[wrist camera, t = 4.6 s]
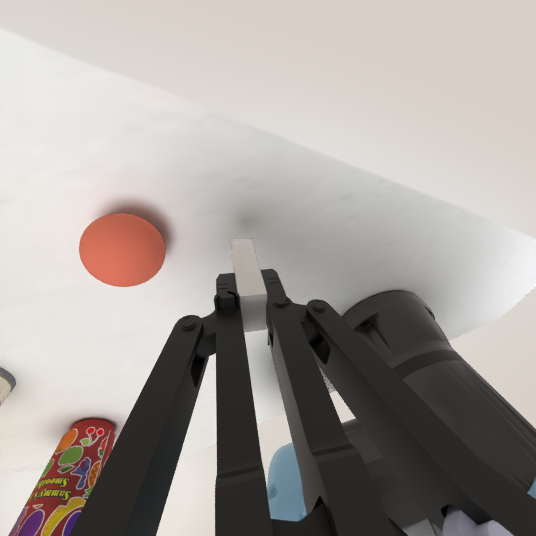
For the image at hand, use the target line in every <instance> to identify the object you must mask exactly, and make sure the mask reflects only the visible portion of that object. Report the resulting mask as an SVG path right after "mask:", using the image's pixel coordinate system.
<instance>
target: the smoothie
mask: <svg viewBox="0 0 536 536" xmlns="http://www.w3.org/2000/svg"><path fill="white" fill-rule="evenodd" d="M113 432H114V426H113V425H112V424H111V423H110V422H108V421H105V420H100V419H89V420H84V421H80V422H78V423H76V424H74V425H73V427H72V428H71V429H70V431H68V432H66V433H65V435H64V436H63V437H62V439H61V441H60V443H59V445H58V446H57V448H56V450H55V452H54V454H53V456H52V457H51V459H50V461H49V463H48V465H47V466H46V468H45V470H44V472H43V474H42V476H41V477H40V479H39V481H38V483H37V485H36V487H35V488H34V490H33V492H32V494H31V496H30V498H29V499H28V501H27V503H26V505H25V507H24V508H23V510H22V512H21V514H20V516H19V517H18V519H17V521H16V523H15V525H14V527H13V529H12V530H11V532H10V534H9V536H69V534H70V532H71V530H72V528H73V526H74V524H75V522H76V520H77V518H78V516H79V514H80V512H81V510H82V508H83V506H84V504H85V502H86V500H87V498H88V496H89V495H90V493H91V491H92V489H93V487H94V485H95V483H96V481H97V479H98V477H99V475H100V473H101V471H102V469H103V467H104V465H105V463H106V461H107V459H108V457H109V455H110V453H111V451H112V447H113V443H114V439H115V434H114V433H113Z"/></svg>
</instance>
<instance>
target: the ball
mask: <svg viewBox="0 0 536 536" xmlns="http://www.w3.org/2000/svg"><path fill="white" fill-rule="evenodd" d="M79 253H80V258H81V261H82V263H83V265H84V266H85V268H86V269H87V271H88V272H89V273H90V274H91V275H92V276H94V277H95V278H96V279H98V280H100V281H102V282H104V283H106V284H109V285H113V286H118V287H129V286H135V285H139V284H142V283H144V282H146V281H148V280H149V279H151V278H152V277H154V276H155V275H156V274H157V272H158V271H159V270H160V268H161V267H162V265H163V262H164V259H165V244H164V241H163V238H162V236H161V234H160V233H159V231H158V230H157V229H156V228H155V227H154V226H153V225H152V224H151V223H149V222H148V221H146V220H145V219H143V218H141V217H138V216H135V215H132V214H125V213H116V214H110V215H106V216H103V217H101V218H99V219H97V220H95V221H94V222H92V223H91V224H90V225H89V226H88V227H87V228H86V230H85V231H84V233H83V235H82V237H81V239H80V245H79Z"/></svg>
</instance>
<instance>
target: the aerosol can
mask: <svg viewBox="0 0 536 536" xmlns="http://www.w3.org/2000/svg"><path fill="white" fill-rule="evenodd" d="M15 385H16V384H15V379H14V377H13V376H12V375H11V374H10V373H8V372H7V371H5V370H4V369H2V368H0V405H1V404H2V403H3V401H4V400H5V399H6V397H7V396H8V395H9V393H10V392H11V391H12V389H13V388H14V386H15Z"/></svg>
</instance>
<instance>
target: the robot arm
mask: <svg viewBox="0 0 536 536" xmlns="http://www.w3.org/2000/svg"><path fill="white" fill-rule="evenodd" d="M231 245H232V257H233V270H234V273H228V274H219V276H218V278H217V279H216V285H217V286H216V289H217V294H216V295H215V297H214V303H215V311H214V312H213V313H212V314H210V315H208V316H206V317H204V318H200V317H198V316H196V315H188V316H185V317H182V318H181V319H179V320H178V321H177V323H176V324H175V326H174V328H173V330H172V332H171V334H170V336H169V338H168V340H167V342H166V344H165V346H164V348H163V350H162V352H161V354H160V356H159V358H158V360H157V362H156V364H155V366H154V368H153V370H152V372H151V374H150V376H149V378H148V380H147V382H146V384H145V385H144V387H143V389H142V391H141V393H140V395H139V397H138V399H137V401H136V403H135V405H134V407H133V409H132V411H131V413H130V415H129V417H128V419H127V421H126V423H125V425H124V427H123V429H122V431H121V433H120V435H119V437H118V439H117V441H116V443H115V445H114V447H113V449H112V451H111V453H110V455H109V457H108V459H107V461H106V463H105V465H104V467H103V469H102V471H101V473H100V475H99V477H98V479H97V481H96V483H95V485H94V487H93V489H92V491H91V493H90V495H89V496H88V498H87V500H86V502H85V504H84V506H83V508H82V510H81V512H80V514H79V516H78V518H77V520H76V522H75V524H74V526H73V528H72V530H71V532H70V534H69V536H156V533H157V530H158V527H159V523H160V520H161V516H162V513H163V510H164V507H165V503H166V500H167V497H168V493H169V490H170V486H171V483H172V480H173V476H174V473H175V470H176V466H177V463H178V460H179V456H180V453H181V450H182V446H183V443H184V439H185V436H186V433H187V429H188V426H189V423H190V419H191V416H192V413H193V409H194V406H195V403H196V399H197V396H198V392H199V389H200V386H201V382H202V379H203V376H204V372H205V369H206V366H207V362H208V359H209V356H210V355H213V354H215V353H216V402H217V477H216V485H215V487H216V488H215V536H536V429H535V428H534V427H533V426H532V425H531V424H530V423H529V422H528V421H527V420H526V419H525V418H524V417H523V416H522V415H521V414H520V413H519V412H518V411H517V410H516V409H515V408H513V407H512V406H511V405H510V404H509V403H508V402H507V401H506V400H505V399H504V398H503V397H502V396H501V395H500V394H499V393H498V392H497V391H496V390H495V389H494V388H493V387H492V386H491V385H489V383H487V381H486V380H484V379H483V378H482V377H481V376H480V375H479V374H478V373H477V372H476V371H475V370H474V369H473V368H472V367H471V366H470V365H469V364H468V363H467V362H466V361H465V360H464V359H463V358H462V357H461V356H460V355H459V354H458V353H457V352H456V351H455V350H453V348H452V347H451V345H450V343H449V342H448V340H447V338H446V336H445V334H444V333H443V331H442V330H441V328H440V327H439V325H438V324H437V322H436V321H435V317H434V314H433V312H432V311H431V309H430V308H429V307H428V306H427V305H426V304H425V303H424V302H423V301H422V300H421V299H419V298H418V297H417V296H416V295H414V294H412V293H409V292H405V291H391V292H385V293H381V294H378V295H375V296H372V297H370V298H368V299H366V300H364V301H362V302H361V303H359V304H357V305H356V306H354V307H353V308H352V309H351V310H349V311H348V312H347V313H346V314H345V315H344V316H343V317H341V316H340V315H339V314H338V313H337V312H336V311H335V310H334V309H333V308H332V307H331V306H330V305H329V304H328V303H327V302H325V301H323V300H317V299H316V300H311V301H309V302H308V304H307V305H299V304H295V303H293V302H292V301H291V300H290V299H289V298H288V297H286V294H285V291H284V289H283V286H282V284H281V281H280V279H279V276H278V274H277V272H276V271H274V270H273V269H266V270H260V267H259V264H258V260H257V257H256V254H255V250H254V247H253V243H252V240H251V238H248V239H233V240H231ZM266 328H268V345H270V347H271V352H272V356H273V360H274V365H275V369H276V373H277V377H278V382H279V386H280V390H281V394H282V399H283V403H284V407H285V411H286V415H287V420H288V424H289V428H290V433H291V437H292V441H293V442H292V443H289V444H287V445H285V446H282V447H281V448H279V449H278V450H277V451H276V452H275V454H274V456H273V458H272V460H271V463H270V467H269V473H268V485H267V487H266V481H265V474H264V469H263V465H262V460H261V452H260V445H259V437H258V430H257V423H256V416H255V408H254V401H253V394H252V387H251V379H250V372H249V365H248V357H247V350H246V343H245V336H244V332H250V331H257V330H264V329H266ZM317 363H318V365H319V366H320V368H321V369H322V370H323V372H324V373H325V375H326V376H327V378H328V379H329V380H330V382H331V383H332V385H333V386H334V388H335V389H336V390H337V392H338V393H339V395H340V396H341V397H342V399H343V400H344V402H345V403H346V405H347V406H348V407H349V409H350V410H351V412H352V413H353V415H354V416H355V417H356V418H355V419H353V420H350V421H347V422H344V423H341V422H340V419H339V417H338V414H337V412H336V409H335V407H334V404H333V402H332V399H331V397H330V394H329V392H328V389H327V387H326V384H325V382H324V380H323V377H322V375H321V372H320V370H319V367H318V365H317Z"/></svg>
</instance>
